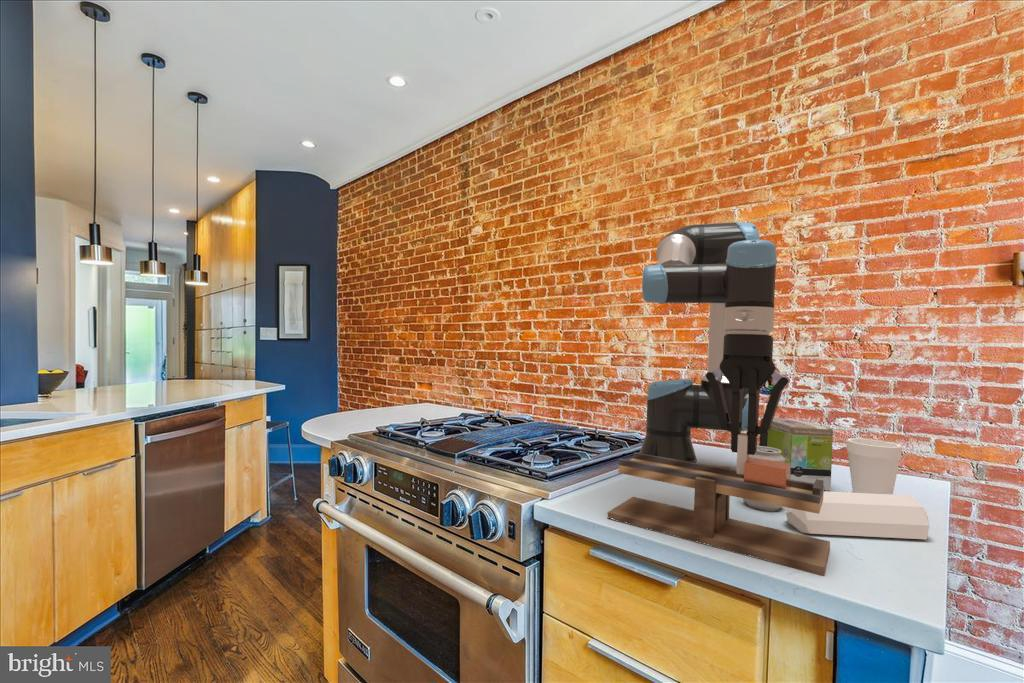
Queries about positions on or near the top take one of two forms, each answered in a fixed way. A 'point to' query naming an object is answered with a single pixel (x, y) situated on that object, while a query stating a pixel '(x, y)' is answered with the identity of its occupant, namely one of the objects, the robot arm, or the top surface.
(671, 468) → the beam
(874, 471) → the foam cup
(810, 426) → the tea box
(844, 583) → the top surface
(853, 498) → the crystal
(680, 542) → the top surface
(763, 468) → the terracotta wooden block
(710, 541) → the stand
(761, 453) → the can
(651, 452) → the robot arm
